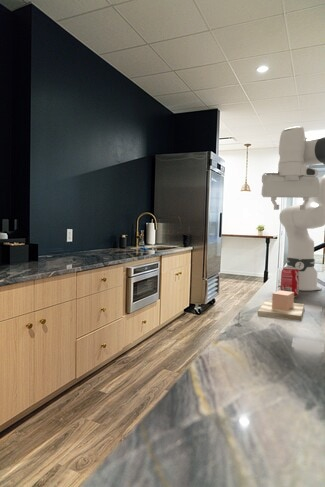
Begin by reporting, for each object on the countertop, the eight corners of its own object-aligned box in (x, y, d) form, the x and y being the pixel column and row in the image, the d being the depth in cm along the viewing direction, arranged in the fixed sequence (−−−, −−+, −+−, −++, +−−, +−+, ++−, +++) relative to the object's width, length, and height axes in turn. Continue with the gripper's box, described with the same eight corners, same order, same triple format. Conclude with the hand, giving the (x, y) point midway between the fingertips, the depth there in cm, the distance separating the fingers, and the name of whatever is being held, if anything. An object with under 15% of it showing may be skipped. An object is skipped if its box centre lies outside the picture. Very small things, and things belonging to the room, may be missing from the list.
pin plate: (266, 303, 121) (266, 290, 121) (303, 308, 116) (304, 294, 115) (257, 315, 106) (258, 299, 106) (300, 320, 100) (301, 304, 100)
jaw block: (278, 304, 115) (279, 290, 115) (293, 306, 112) (294, 292, 112) (271, 308, 110) (272, 293, 109) (287, 310, 106) (287, 295, 106)
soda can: (295, 294, 138) (296, 266, 138) (300, 298, 131) (302, 269, 131) (278, 294, 139) (279, 266, 138) (282, 298, 132) (284, 268, 131)
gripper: (264, 170, 117) (262, 209, 118) (322, 170, 116) (321, 209, 117) (260, 173, 123) (258, 209, 124) (315, 173, 122) (313, 210, 123)
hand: (289, 209), depth 120 cm, fingers open, 8 cm apart
